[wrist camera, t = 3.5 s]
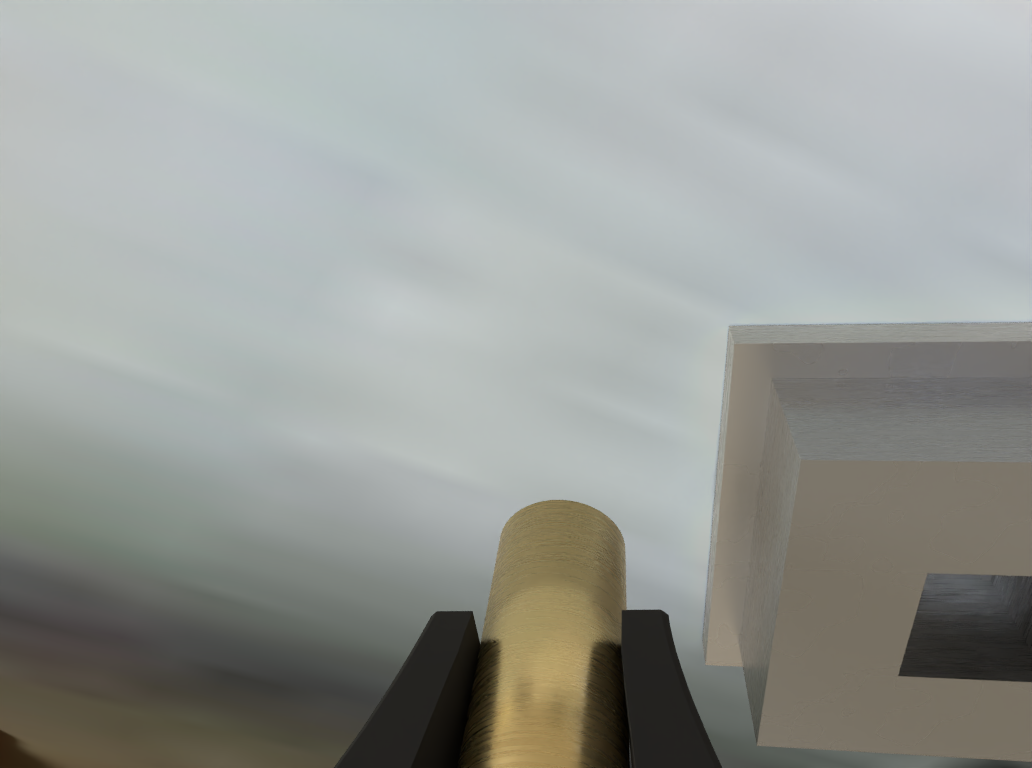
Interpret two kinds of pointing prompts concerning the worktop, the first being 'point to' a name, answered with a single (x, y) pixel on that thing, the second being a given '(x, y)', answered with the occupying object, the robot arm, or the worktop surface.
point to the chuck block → (877, 536)
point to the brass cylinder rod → (552, 646)
